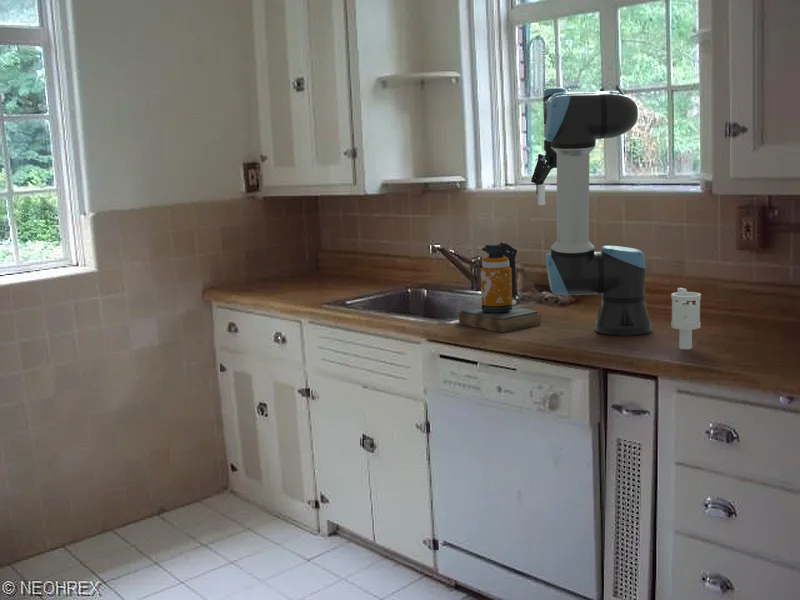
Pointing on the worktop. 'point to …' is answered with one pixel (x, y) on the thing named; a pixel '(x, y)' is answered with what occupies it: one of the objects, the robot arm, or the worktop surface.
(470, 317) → the stand
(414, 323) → the worktop surface
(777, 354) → the worktop surface
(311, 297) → the worktop surface
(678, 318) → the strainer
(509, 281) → the canister
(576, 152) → the robot arm
